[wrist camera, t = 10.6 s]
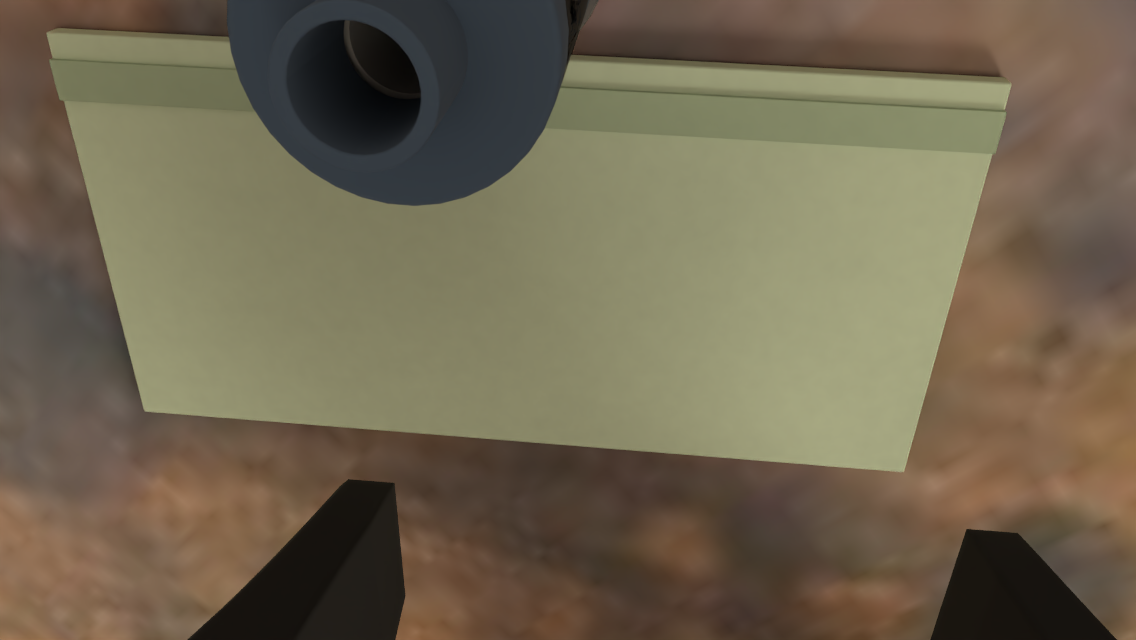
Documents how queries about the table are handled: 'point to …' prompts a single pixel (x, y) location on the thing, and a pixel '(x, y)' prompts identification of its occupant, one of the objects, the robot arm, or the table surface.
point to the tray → (549, 257)
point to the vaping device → (405, 87)
